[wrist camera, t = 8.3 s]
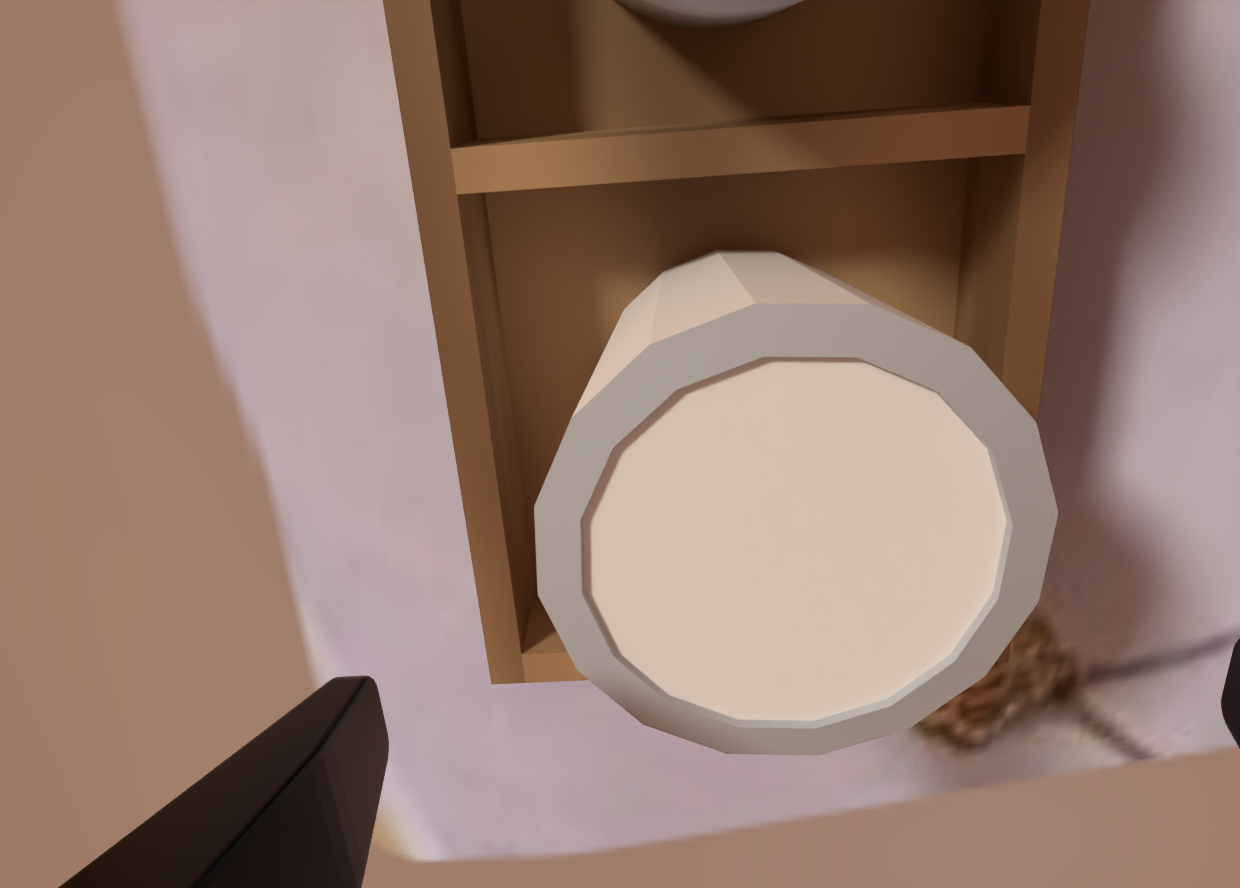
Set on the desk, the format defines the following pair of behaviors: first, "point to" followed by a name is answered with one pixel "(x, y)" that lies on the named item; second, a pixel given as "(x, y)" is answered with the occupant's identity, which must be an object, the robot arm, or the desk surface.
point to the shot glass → (789, 512)
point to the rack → (710, 203)
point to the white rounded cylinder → (708, 12)
